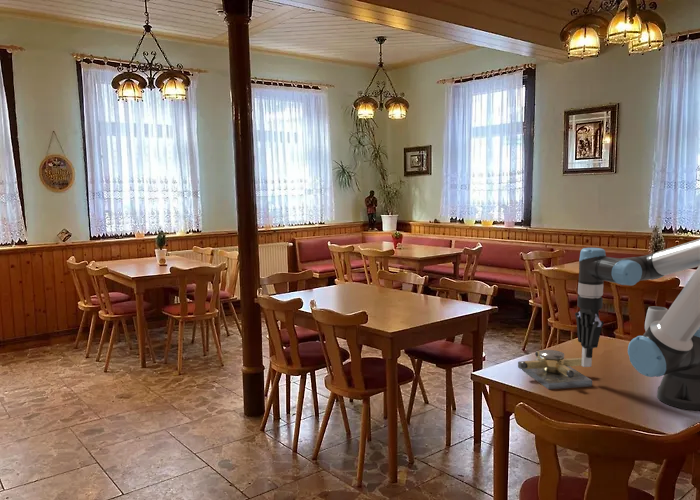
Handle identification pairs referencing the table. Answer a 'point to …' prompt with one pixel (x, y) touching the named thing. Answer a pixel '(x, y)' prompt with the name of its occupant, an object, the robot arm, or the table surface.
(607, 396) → the table surface
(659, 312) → the wineglass
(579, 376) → the stand
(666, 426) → the table surface
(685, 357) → the robot arm
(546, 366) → the capstan
